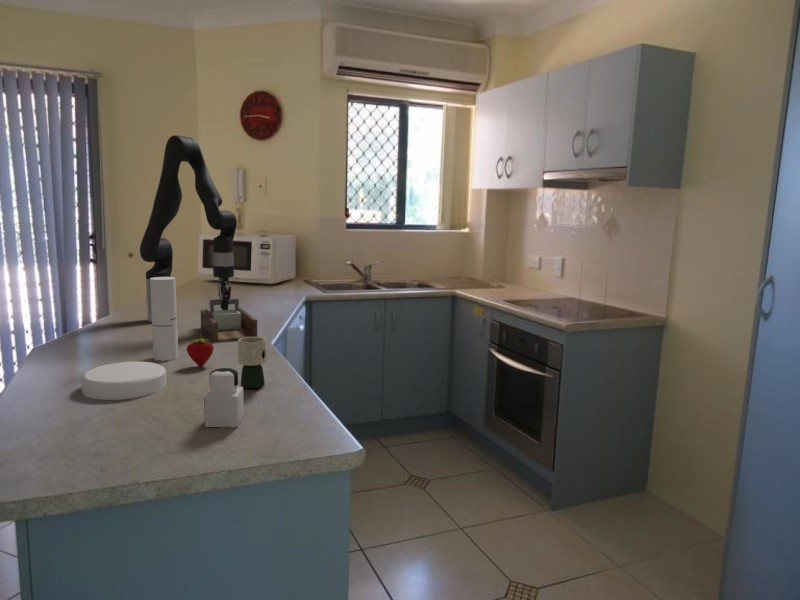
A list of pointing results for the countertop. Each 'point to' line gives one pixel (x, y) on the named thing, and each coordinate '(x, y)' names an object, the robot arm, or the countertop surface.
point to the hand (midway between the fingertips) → (224, 309)
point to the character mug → (252, 360)
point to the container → (123, 380)
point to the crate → (226, 315)
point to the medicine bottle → (223, 399)
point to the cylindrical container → (164, 318)
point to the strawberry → (200, 351)
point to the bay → (233, 334)
